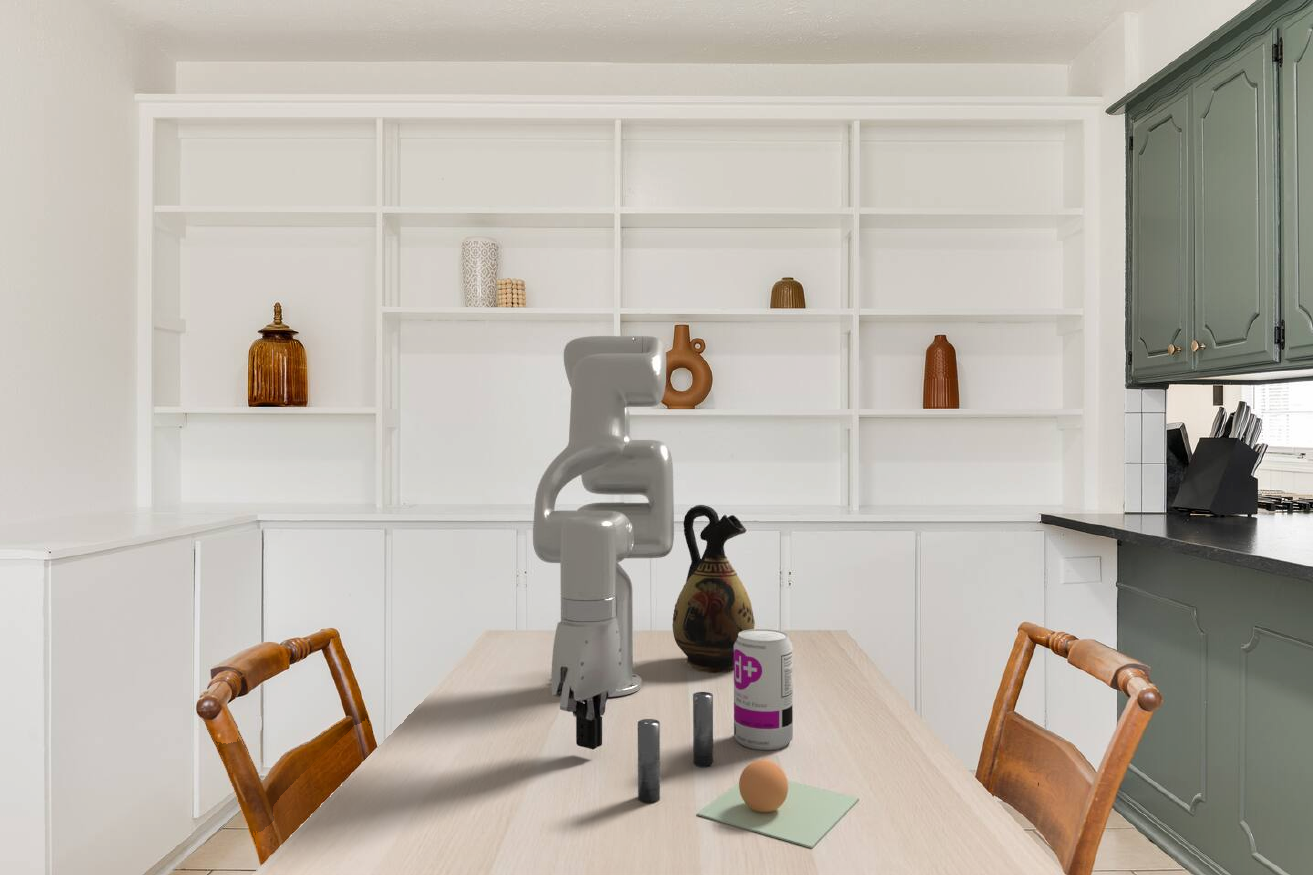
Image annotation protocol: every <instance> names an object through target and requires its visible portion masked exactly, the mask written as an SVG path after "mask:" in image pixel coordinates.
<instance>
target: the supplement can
mask: <svg viewBox="0 0 1313 875" xmlns="http://www.w3.org/2000/svg"><path fill="white" fill-rule="evenodd" d="M793 668H794V666H793V643H791V640H790V638H789V635H788V634H787V633H786V632H784V631H782V630H781V631H780V630H777V629H768V628H754V629H752V630H745V631H742V632H739V634H738V638H737V640H736V642H735V644H734V670H733V736H734V738H735V739H736V740H737V741H738V742H739V744H740V745H742V746H744V747H746V748H749V749H752V750H759V751H772V750H780V749H783V748H785V747H786V746H788V745H789V743H790V742H792V740H793V738H794V737H793V736H794V735H793V734H794V729H793V728H794V722H793V721H794V719H793V718H794V716H793V715H794V711H793V710H794V709H793V707H794V702H793V701H794V698H793V697H794V696H793V695H794V694H793V693H794V692H793V691H794V690H793V687H794V686H793V684H794V683H793V676H794V675H793V673H794V672H793Z"/></svg>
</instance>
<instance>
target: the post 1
mask: <svg viewBox="0 0 1313 875" xmlns="http://www.w3.org/2000/svg"><path fill="white" fill-rule="evenodd" d="M660 725H661V724H660V721H659V720H657V719H654V718H644V719H643V718H642V719H640V720H639V721H638V722H637V800H638V801H639V802H640V803H644V804H655V803H657V802H659V801H660V799H661V794H660V793H661V786H660V784H661V783H660V782H661V774H660V773H661V768H660V767H661V765H660V764H661V756H660V754H661V748H660V743H661V742H660V739H661V738H660V737H661V736H660V735H661V734H660V732H661V731H660V730H661V729H660V728H661V727H660Z"/></svg>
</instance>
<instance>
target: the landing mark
mask: <svg viewBox="0 0 1313 875" xmlns="http://www.w3.org/2000/svg"><path fill="white" fill-rule="evenodd" d="M787 781H788V793H787V797H786V799H785V801H784V803H783V804H782V805H781V806H780V807H779V808H778V809H776V810H774V811H772V812H767V813H762V812H757V811H755V810H753V809H751V808H750V807H749V806H748V805H747V804H746V803H745V802H744V800H743V799H742V797H741V794H740V790H739V782H737V783H736V784H735V785H733V786H732V787H730V788H729V789H728V790H727V791H725V792H723V793H722V794H721V795H720V796H718V797H717V798H716V799H714V800H713V801H712V802H710V803H709V804H708V805H706V806H705V807H703V808H702V809H701V810H699V811H697V813H696V816H700V817H702V818H706V819H709V820H712V821H716V822H720V823H723V824H726V825H730V826H733V827H737V828H740V829H744V830H747V831H751V832H754V833H758V834H762V835H764V836H767V837H772V838H775V839H779V840H782V841H786V842H789V843H792V844H796V845H800V846H802V847H806V848H810V849H813V848H814V847H815V846H816V845H817V844H818V843H819V842H820V841H821V840H822V839H823V838H824V837H825V836H826V835H827V834H828V833H829V832H830V831H831V829H832V828H834V827H835V825H836V824H838V822H840V820H841V819H842V818H843V817H844V816H845V815H846V814H847V813H848V812H849V811H850V810H851V809H852V808H853V807H854V806H855V804H857V803H858V801H860V797H857V796H854V795H851V794H850V795H849V794H846V793H841V792H838V791H835V790H834V791H833V790H829V789H825V788H821V787H816V786H813V785H808V784H805V783H801V782H797V781H792V780H788V779H787Z"/></svg>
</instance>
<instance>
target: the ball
mask: <svg viewBox="0 0 1313 875" xmlns="http://www.w3.org/2000/svg"><path fill="white" fill-rule="evenodd" d="M787 780H788V778H787V776H786V774H785V772H784V771H783V769H782V768H781V767H780V766H779V765H777V763H775V762H773V761H770V760H769V759H768V760H767V759H757V760H755V761H752V762H750V763H749V764H747V765H746V766H745V768H744V769H743V770H742V772H741V774H740V777H739V781H738V783H739V790H740V794H741V797H742V799H743V800H744V802H745V803H746V804H747V805H748V806H749V807H750V808H751V809H753V810H755V811H757V812H762V813H767V812H772V811H774V810H776V809H778V808H779V807H780V806H781V805H782V804H783V803H784V801H785V799H786V797H787V793H788V781H787Z"/></svg>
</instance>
